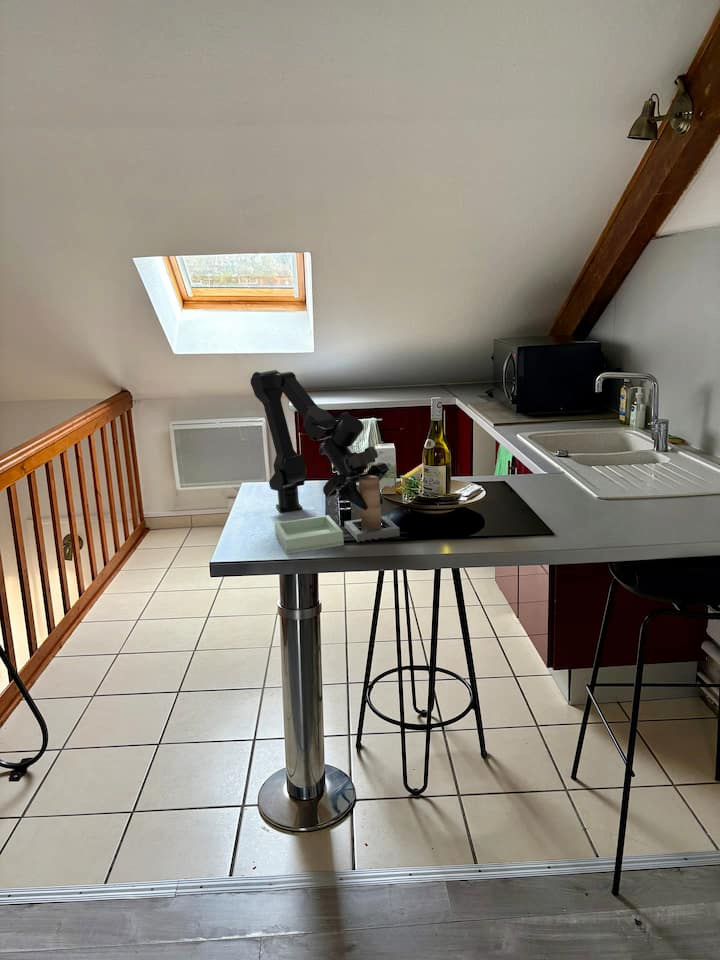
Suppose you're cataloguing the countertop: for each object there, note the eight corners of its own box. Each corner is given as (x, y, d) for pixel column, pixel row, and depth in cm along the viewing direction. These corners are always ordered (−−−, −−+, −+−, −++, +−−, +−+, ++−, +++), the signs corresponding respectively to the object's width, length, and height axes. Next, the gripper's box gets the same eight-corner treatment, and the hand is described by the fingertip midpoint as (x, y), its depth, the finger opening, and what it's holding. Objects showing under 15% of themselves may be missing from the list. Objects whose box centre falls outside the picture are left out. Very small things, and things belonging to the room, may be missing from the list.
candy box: (408, 505, 207) (407, 477, 205) (401, 505, 208) (400, 476, 206) (428, 490, 221) (427, 463, 219) (421, 489, 222) (421, 462, 220)
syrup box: (395, 489, 223) (393, 442, 220) (397, 495, 218) (395, 446, 214) (376, 490, 223) (374, 443, 219) (377, 496, 217) (375, 447, 214)
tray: (275, 535, 188) (274, 522, 187) (329, 527, 192) (328, 515, 191) (286, 553, 175) (285, 539, 174) (343, 545, 179) (342, 531, 178)
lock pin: (359, 530, 188) (356, 477, 185) (378, 527, 190) (375, 474, 186) (365, 536, 184) (362, 482, 180) (384, 533, 185) (381, 479, 181)
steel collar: (344, 528, 190) (344, 521, 190) (385, 522, 193) (385, 515, 193) (357, 542, 180) (356, 534, 180) (399, 535, 183) (399, 528, 183)
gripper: (327, 445, 177) (362, 497, 172) (382, 431, 189) (415, 479, 185) (308, 472, 185) (341, 522, 180) (362, 457, 197) (394, 504, 192)
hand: (374, 506), depth 184 cm, fingers closed on lock pin, 5 cm apart
